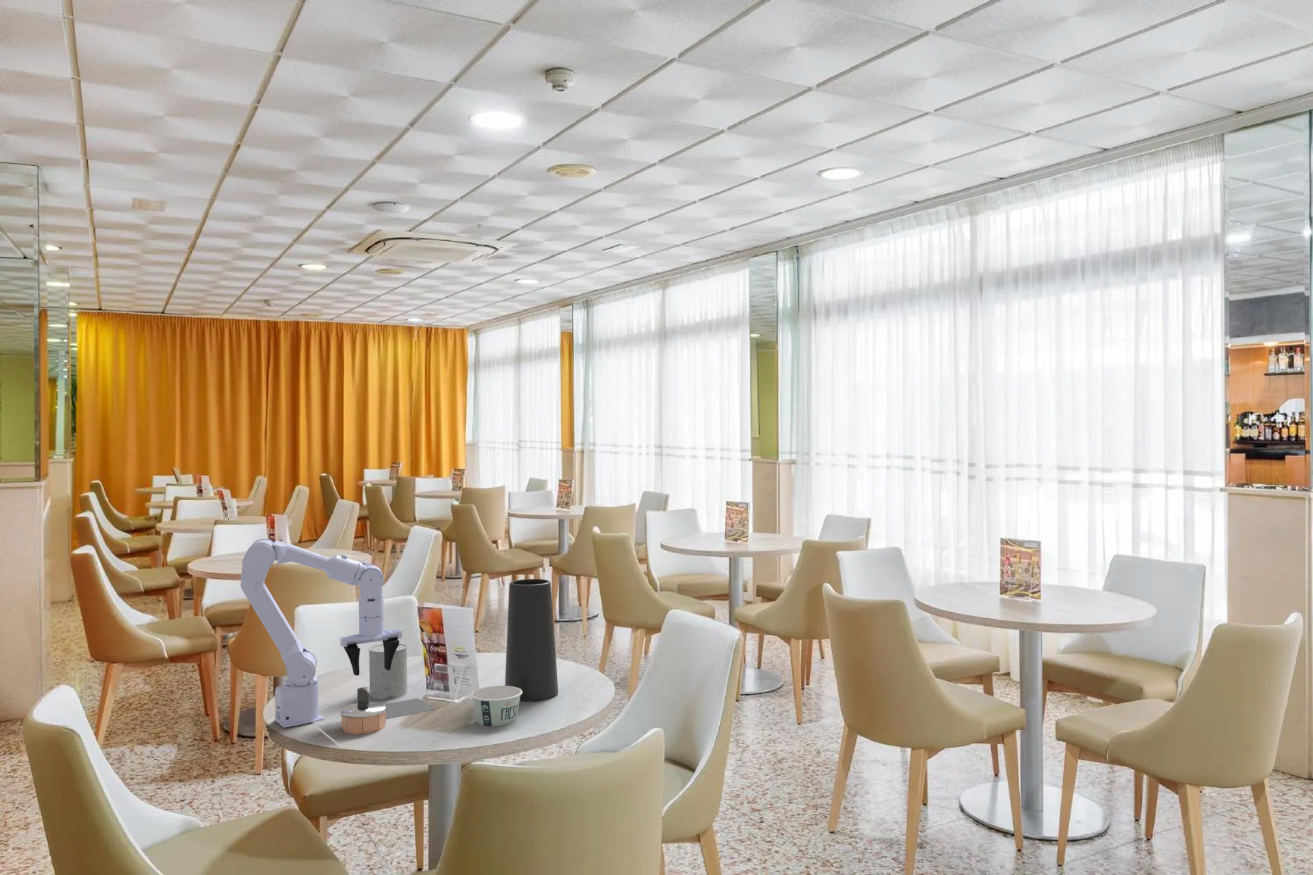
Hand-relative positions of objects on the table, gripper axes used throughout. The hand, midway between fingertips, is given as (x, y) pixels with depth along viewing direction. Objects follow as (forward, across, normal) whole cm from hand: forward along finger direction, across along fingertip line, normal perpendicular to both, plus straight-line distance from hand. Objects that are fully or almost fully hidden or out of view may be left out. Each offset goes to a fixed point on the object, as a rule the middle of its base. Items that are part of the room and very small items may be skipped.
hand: (372, 672), depth 226 cm
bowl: (+10, -6, -11) cm, 16 cm away
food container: (+10, +21, -24) cm, 33 cm away
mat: (+10, +6, -2) cm, 12 cm away
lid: (+6, -6, -11) cm, 14 cm away
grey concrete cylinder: (+10, +9, +13) cm, 19 cm away
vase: (+10, +38, -10) cm, 41 cm away
